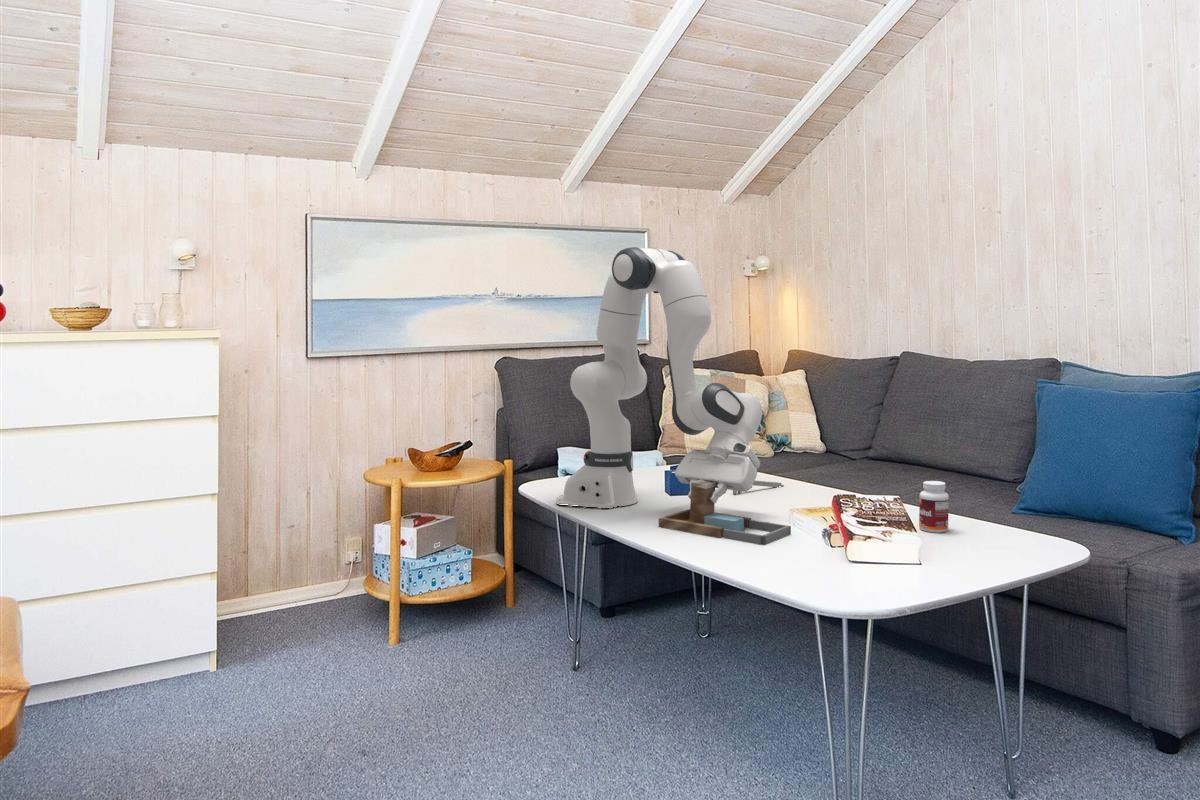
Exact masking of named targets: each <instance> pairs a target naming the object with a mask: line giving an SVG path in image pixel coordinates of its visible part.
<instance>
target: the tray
mask: <svg viewBox="0 0 1200 800" xmlns="http://www.w3.org/2000/svg"><path fill="white" fill-rule="evenodd" d="M748 529H752V530H757V531H763V532H767V533H765V534H758V533H757V534H756V533H751V532H746V531H742V532H741V531H735V530H729V529H723V537H722V538H723V539H728V540H734V541H739V542H745V543H750V544H755V545H761V546H765V545H768V544H770V543H773V542H775V541H778V540H780V539H783V538H785V537H788V536H789V535H792V534H791V533H792V532H791V531H792V527H791V525H787V524H781V523H780V524H779V523H774V522H768V521H761V520H756V519H751V520H749V528H748Z"/></svg>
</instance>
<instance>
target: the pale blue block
mask: <svg viewBox="0 0 1200 800" xmlns="http://www.w3.org/2000/svg"><path fill="white" fill-rule="evenodd" d="M716 513H717V512H716ZM716 513H713V514H710V515H707V516H704V524H705V525H711V526H717V527H719V519H720V518H723V517H726V516H729V515H730V514H729V515H723V514H724V513H722V514H716Z"/></svg>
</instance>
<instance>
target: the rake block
mask: <svg viewBox="0 0 1200 800" xmlns="http://www.w3.org/2000/svg"><path fill="white" fill-rule="evenodd" d="M715 486H716V483H715V482H711V481H706V480H697V481H693V482H691V499H690V500H689V501H690V503H689V504H690V506H689V509H690V521H689V522H694V523H699V524H704V516H707V515H710V514H713V513H714V512H715V504H716V503H712V502H709V500H708V496H709V494H710V492H711V493H713V492H714V491H715V490H716V488H715Z"/></svg>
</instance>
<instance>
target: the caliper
mask: <svg viewBox="0 0 1200 800" xmlns="http://www.w3.org/2000/svg"><path fill="white" fill-rule="evenodd" d="M753 486H755V487H756V486H757V487H768V488H769V487H770V488H777V487H778V488H780V487H779V486H781V487H785V485H784V484H783V483H782V482H776V481H766V480H765V481H764V480H755V481H754V483H753ZM753 486H752V487H751V489H752V488H753ZM742 493H743V491H736V490H732V494H733V495H734V494H735V495H736V496H737V495H742Z"/></svg>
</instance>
